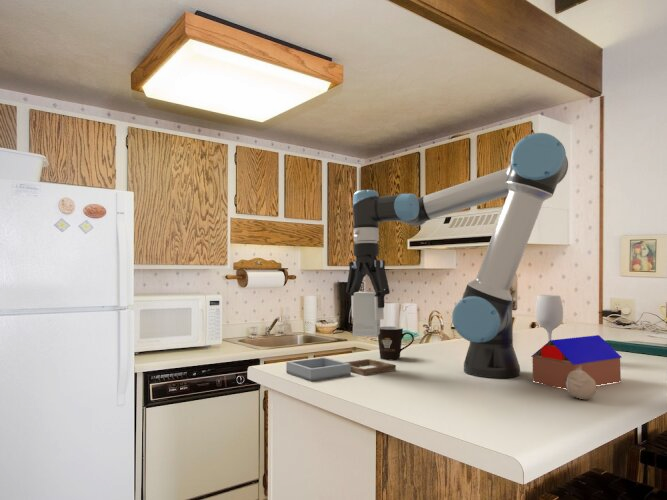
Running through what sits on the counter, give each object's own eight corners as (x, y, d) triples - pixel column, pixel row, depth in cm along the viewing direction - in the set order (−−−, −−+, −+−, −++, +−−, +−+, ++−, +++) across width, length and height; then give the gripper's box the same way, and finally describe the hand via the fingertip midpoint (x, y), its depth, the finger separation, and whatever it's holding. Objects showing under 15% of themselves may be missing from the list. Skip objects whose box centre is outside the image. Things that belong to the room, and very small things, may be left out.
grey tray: (350, 374, 130) (350, 364, 130) (310, 381, 123) (310, 369, 123) (324, 367, 141) (324, 357, 141) (286, 372, 133) (286, 361, 134)
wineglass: (570, 363, 146) (568, 295, 147) (542, 363, 146) (540, 295, 147) (557, 358, 155) (556, 294, 156) (531, 358, 155) (529, 294, 156)
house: (622, 383, 121) (621, 337, 122) (574, 393, 112) (572, 343, 112) (579, 374, 132) (578, 332, 132) (531, 382, 122) (530, 337, 123)
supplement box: (377, 337, 134) (378, 293, 135) (351, 336, 136) (352, 292, 136) (380, 334, 141) (381, 291, 142) (356, 332, 143) (357, 291, 143)
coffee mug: (371, 358, 156) (371, 327, 157) (388, 355, 162) (388, 325, 162) (398, 363, 148) (398, 330, 148) (415, 359, 153) (415, 328, 154)
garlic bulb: (559, 397, 107) (558, 361, 107) (576, 393, 110) (575, 359, 110) (587, 404, 101) (586, 366, 102) (604, 400, 104) (603, 363, 105)
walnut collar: (395, 370, 137) (395, 365, 137) (363, 375, 130) (363, 369, 130) (369, 363, 146) (369, 358, 146) (338, 368, 140) (338, 363, 140)
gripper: (333, 244, 147) (334, 316, 146) (381, 239, 128) (382, 321, 127) (352, 245, 151) (353, 315, 150) (401, 240, 133) (403, 320, 132)
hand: (367, 318), depth 139 cm, fingers closed on supplement box, 10 cm apart
